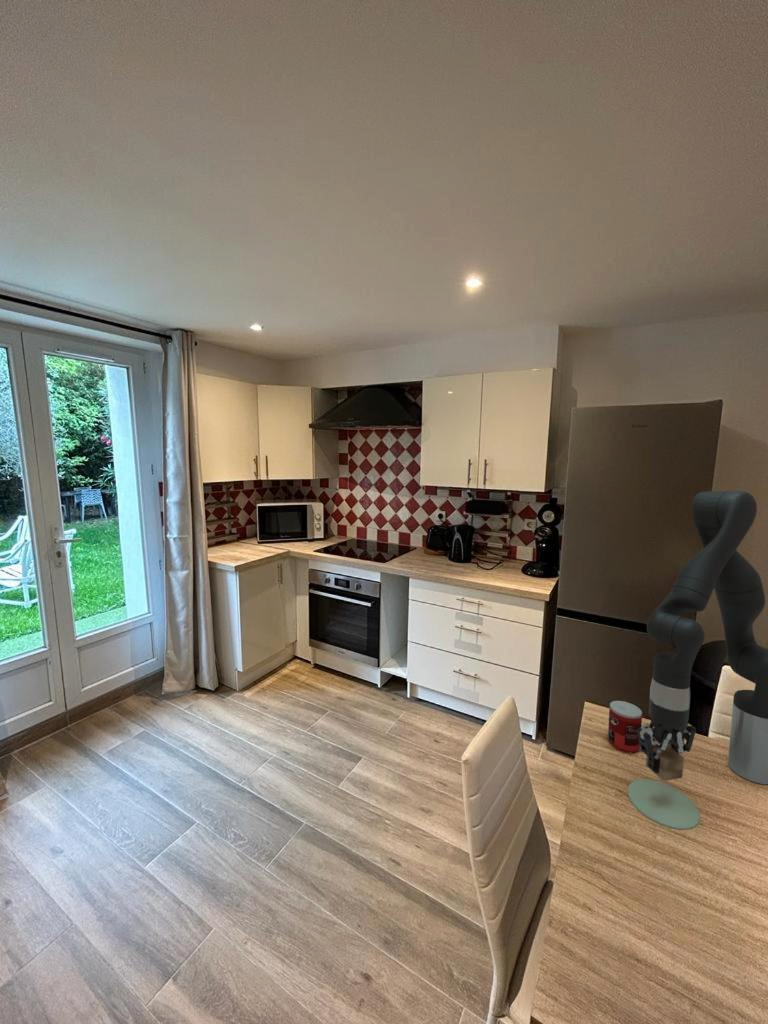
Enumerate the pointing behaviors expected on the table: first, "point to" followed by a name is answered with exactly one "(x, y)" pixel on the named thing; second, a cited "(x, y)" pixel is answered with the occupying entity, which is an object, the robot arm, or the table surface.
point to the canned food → (624, 726)
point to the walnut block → (669, 764)
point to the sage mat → (663, 804)
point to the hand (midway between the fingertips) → (663, 768)
